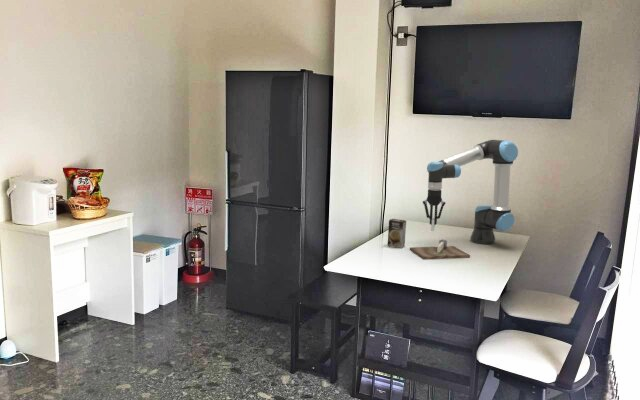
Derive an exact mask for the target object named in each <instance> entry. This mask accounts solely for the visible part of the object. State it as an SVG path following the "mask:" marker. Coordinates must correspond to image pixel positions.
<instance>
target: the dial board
mask: <svg viewBox="0 0 640 400" xmlns="http://www.w3.org/2000/svg"><path fill="white" fill-rule="evenodd" d="M437 248H438V246H420V247H419V246H414V247H412V246H411V247H409V251H410V252H412V253H413V254H415V255H416V256H418V257H419V258H420V259H422V260H440V259H441V260H442V259H443V260H444V259H447V260H448V259H469V258H470V257H471V255H470V254H469V253H467V252H465V251H464V250H462V249H460V248H458V247H456V246H454V245H447V248H446V249H442V250H441V252H440V253H439V252H437Z"/></svg>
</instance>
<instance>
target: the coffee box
mask: <svg viewBox="0 0 640 400" xmlns="http://www.w3.org/2000/svg"><path fill="white" fill-rule="evenodd" d="M406 228H407V220H405V219H397V218H391V219H389V220H388V234H387V236H388V237H387V247H389V248H391V247H392V248H396V249H403V248H404V247H405V246H406V245H405V243H406V234H407V233H406V232H407V229H406Z"/></svg>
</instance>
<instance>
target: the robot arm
mask: <svg viewBox="0 0 640 400" xmlns="http://www.w3.org/2000/svg"><path fill="white" fill-rule="evenodd" d="M518 155H519V150H518V146H517V145H516V143H514V142H513V141H510V140H500V139H489V140H485V141H483V142H480V143H477V144H475V145H473V147H471V148H470V149H467V150H464V151H462V152H459V153H457V154H455V155H452V156H449V157H446V158H444V159H441V160H439V161H431V162H429V163H428V164H427V165H426V171H427V173H428V181H427V183H428V184H427V197H426V199H424V200H422V204H423V206H424V211H425V216H426V218H427V219H429V225H431V228H430V229H431V231H432V232H434V231H435V226H436V225H437V223H438V219H441V216H442V213H443V209H444V206H445V205H446V203H447V202H446V201H444V200H443V199H442V188H443V179H456V178H459V177H460V176H461V173H462V168H461V167H462V166H465V165H466V164H470V163H472V162H474V161H482V160H485V159H486V160H487V159H488V160H490V159H492V165H493V166H494V182H493V184H494V185H493V205H478V206H476V207H475V210H474V220H473V221H474V222H473V223H474V224H473V230H472V232H471V235H470V237H469V238H470V239H469V240H470V242H471V243H475V244H480V245H494V244H495V243H496V237H495V232H494V230H497V231H500V232H501V231H502V232H507V231H510V230H511V228H512V227H513V226H514V224H515V216H514V215H513V214H512V212H511V211H512V210H511V209H512V208H511V207H510V206H509V201H510V197H509V196H510V183H511V182H510V181H511V180H510V176H511V167H512V165H513V164H514V161H515V160H517V158H518ZM428 204H429V205H430V207H429V208H430V209H429V208H428ZM439 205H440V208H439V213H438V206H439ZM433 210H434V218H433Z"/></svg>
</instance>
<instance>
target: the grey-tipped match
mask: <svg viewBox="0 0 640 400" xmlns="http://www.w3.org/2000/svg"><path fill="white" fill-rule="evenodd" d="M438 242H439V243H438V245H437V247H438V248H437V252H439V253H440V252H441V250H442V249H446V248H447V246H448V240H446V239H439V241H438Z"/></svg>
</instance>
